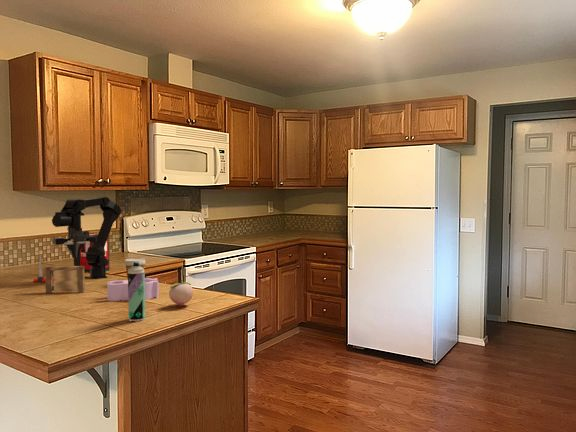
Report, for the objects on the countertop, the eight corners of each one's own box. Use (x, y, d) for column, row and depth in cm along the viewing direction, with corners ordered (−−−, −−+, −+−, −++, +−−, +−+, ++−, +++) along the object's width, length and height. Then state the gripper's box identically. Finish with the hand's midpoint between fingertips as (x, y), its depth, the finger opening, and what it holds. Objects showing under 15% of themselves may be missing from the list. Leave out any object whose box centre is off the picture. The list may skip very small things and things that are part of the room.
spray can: (130, 317, 164) (129, 261, 163) (146, 317, 164) (145, 260, 163) (126, 321, 159) (125, 263, 157) (143, 321, 159) (142, 263, 158)
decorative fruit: (181, 310, 174) (180, 283, 173) (165, 307, 178) (165, 281, 178) (198, 304, 182) (198, 279, 181) (183, 302, 186) (182, 277, 186)
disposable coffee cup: (150, 283, 222) (149, 258, 221) (136, 287, 213) (135, 261, 213) (134, 282, 226) (134, 257, 225) (120, 285, 217) (119, 260, 217)
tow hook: (44, 279, 235) (31, 282, 226) (44, 253, 235) (31, 255, 226) (59, 279, 234) (47, 282, 225) (59, 254, 234) (47, 256, 225)
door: (51, 291, 202) (51, 270, 202) (53, 290, 204) (53, 269, 204) (77, 291, 203) (77, 269, 202) (79, 290, 205) (79, 268, 205)
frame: (45, 293, 202) (44, 267, 201) (47, 292, 204) (47, 266, 203) (83, 292, 202) (82, 266, 202) (84, 291, 204) (84, 266, 204)
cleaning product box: (109, 270, 259) (108, 234, 258) (97, 273, 251) (96, 235, 250) (86, 268, 265) (85, 233, 264) (74, 270, 257) (73, 234, 256)
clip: (107, 303, 185) (106, 286, 185) (108, 296, 197) (107, 280, 196) (159, 299, 192) (159, 282, 191) (157, 293, 203) (157, 277, 203)
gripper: (58, 227, 211) (59, 261, 211) (100, 225, 223) (101, 257, 224) (51, 226, 219) (52, 259, 220) (92, 224, 231) (92, 255, 232)
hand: (75, 257), depth 224 cm, fingers closed
